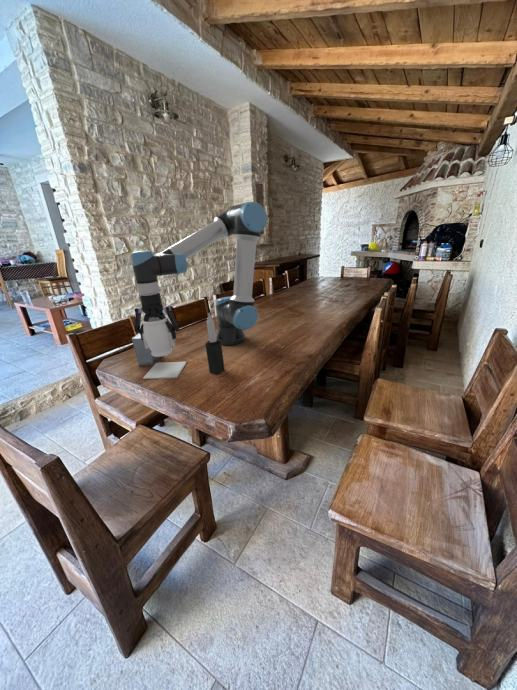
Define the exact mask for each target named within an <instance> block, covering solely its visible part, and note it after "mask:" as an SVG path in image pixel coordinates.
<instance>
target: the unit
mask: <svg viewBox="0 0 517 690" xmlns="http://www.w3.org/2000/svg"><path fill="white" fill-rule="evenodd" d="M131 340H132V345H133V348H134V352H135V353H134V354H135V357H136V360H137V364H138V367H139V366H154V365H155V364H156V363H158V361H159V360H160V358H161V357H155V356H152V355H151V353H152V351H151V350H150V348H149V347H148V348H147V349H146V348H145V344H144V340H142V339H141V335H140V333H139V332H138V333H137V334H136V335H135V336H133V337H132V338H131Z"/></svg>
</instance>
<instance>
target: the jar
mask: <svg viewBox="0 0 517 690" xmlns="http://www.w3.org/2000/svg"><path fill="white" fill-rule="evenodd" d="M165 317H166V318H165V319H162V320H161V319H159V318H158V317H152V318H149V320H148V322H145V321H143V320H144V318H141V323H140V324H141V325H142V324H143V331H144V336H145V339H146V342H147V344H148V347H149V348H150V350H151V351H152V353H151V355H152V356H155V357H160V358H161V357H166V356H167V355H170V354H171V353H173V348H172V346H171V341H170V336H169V332H170V330H169V329H168V328H167V325H166V323H165V322H166V321H168V320H170V319H169V317H168V316H167V314H166V315H165Z"/></svg>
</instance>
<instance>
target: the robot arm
mask: <svg viewBox="0 0 517 690" xmlns="http://www.w3.org/2000/svg"><path fill="white" fill-rule="evenodd" d="M267 221H268V216H267V212H266V211H265V209H264V207H263V206H262V205H261V204H260V203H258V202H256V201H246V202H243V203H240V204H235V205H233V206H231V207H230V208H228V209H226V210H225V211H223V212H222V213H220V214H219V215H218V216H216V217H214V219H213V222H211V223H208V224H207V225H205V226H204V227H201V228H200V229H198V230H196V231H195V232H194V233H192V234H190V235H188V236H186V237H185V238H182V239H181V240H179V241H178V242H176V243H175V244H173V245H171V246H169V247H168V248H166V249H164V250H163V251H161V252H157V253H155V254H153V252H152V251H151V250H139V251H137V250H136V251H133V252H131V254H130V260H131V266H132V269H133V274H134V277H135V281H136V286H137V291H138V294H139V299H140V304H141V307H140V306H137V307H136V308H134V313H135V319H134V333H138V334H139V333H140V335H141V339H142V340H144V344H145V348H146V349H147V348H148V344H147V342H146V339H145V336H144V331H143V324H142V323H141V320H142V312H143V313H144V316H143V319H144V320H143V321H145V322H148V320H149V318H152V317H158V318H159V319H161V320H162V319H165V318H166V317H165V314H166V316H168V318H169V319H168V321H166V322H165V323H166V325H167V328H168V329H169V330H170V332H169V336H170V341H171V349H174V348H175V347H176V339H177V333H176V331H178V330H179V329H180V325H179V323H178V320H176V317H175V316H174V313H173V312H172V306H171V305H166V306H165V305H163V303H162V297H161V293H160V287H159V282H158V277H161V276H169V275H170V276H171V275H180V274H184V273H186V272H187V271H188V261H187V259H189V258H190V257H192V256H194V255H196V254H198V253H199V252H200V251H202V250H204V249H206V248H207V247H209V246H210V245H212V244H214V243H215V242H217V241H219V240H220V239H222V238H224V239H227V238H228V237H230V236H232V235H233V236H234V238H235V239H236V248H235V249H236V251H235V267H234V278H233V279H234V280H233V294H232V296H224V297H219V298H217V299H216V300H215V312H216V318H217V325H218V329H217V332H216V339H218V340H219V341H221V346H234V345H239V344H241V343H243V342H244V341H246V335H245V332H244V330H248V329H251V328H252V327H253V326H254V325H256V323H257V321H258V317H259V313H258V311H257V308H256V307H255V299H254V298H253V287H254V286H253V285H254V276H255V274H254V273H255V262H256V253H257V251H256V249H257V243H258V241H259V240H260V239H261V237H262V236H261V233H262V231H263V230H264V229H265V227H266V226H267ZM164 312H165V313H164Z"/></svg>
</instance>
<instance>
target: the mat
mask: <svg viewBox="0 0 517 690" xmlns="http://www.w3.org/2000/svg"><path fill="white" fill-rule="evenodd" d="M187 364H188V361H169V362H168V361H165V362H156V363H155V364H154V365H152V367H151V368H150V369H149V370H148V371H147V372H146V373H145V375H144V376H143V377H142V378H143V380H155V379H156V380H159V379H178V377H179V376H180V375H181V372H182V371H183V369H184V368H185V366H186V365H187Z"/></svg>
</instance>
